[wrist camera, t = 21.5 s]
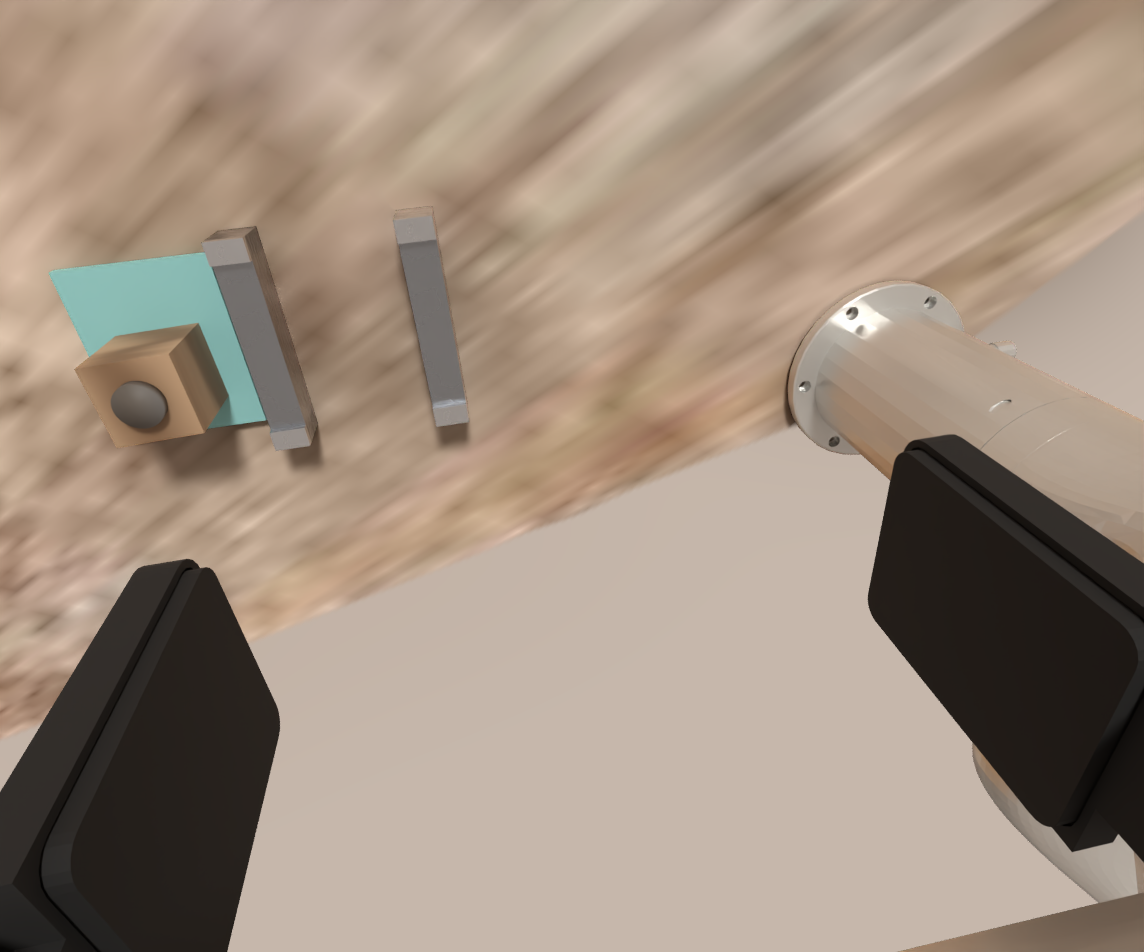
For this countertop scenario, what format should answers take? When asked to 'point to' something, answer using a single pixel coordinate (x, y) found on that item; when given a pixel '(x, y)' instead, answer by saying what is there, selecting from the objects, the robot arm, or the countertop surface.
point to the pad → (162, 316)
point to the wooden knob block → (154, 385)
